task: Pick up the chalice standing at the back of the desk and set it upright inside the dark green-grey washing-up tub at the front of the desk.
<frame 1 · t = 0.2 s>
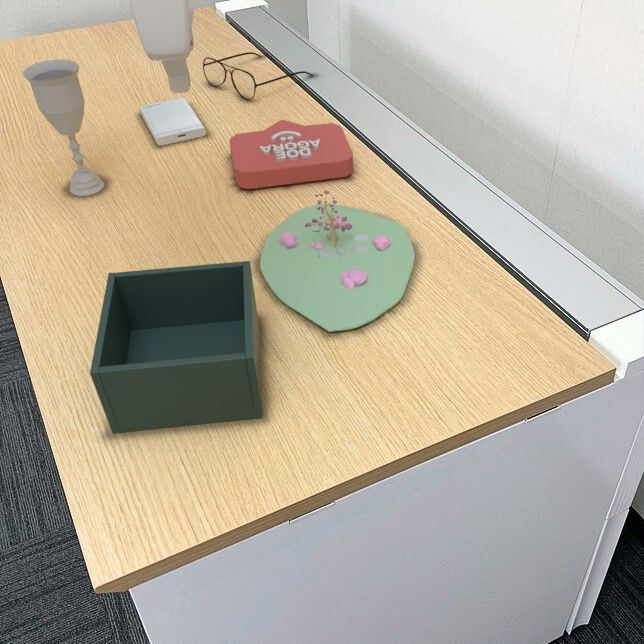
hand: (183, 68, 72), 29 cm above the table, tool pointing down, fingers open, 8 cm apart
plaque: (290, 162, 116), on the table
hard drive: (173, 126, 125), on the table
tub: (190, 372, 82), on the table
chalice: (87, 187, 111), on the table
glasses: (258, 80, 138), on the table
plant: (342, 267, 96), on the table
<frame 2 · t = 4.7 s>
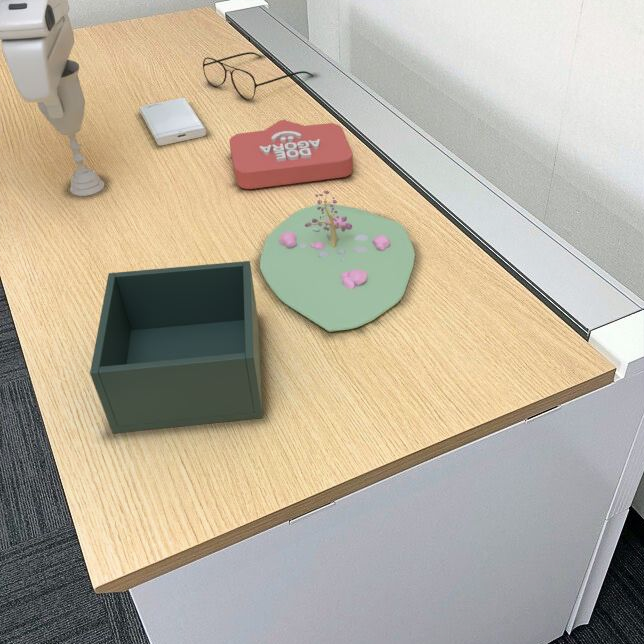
hand: (62, 104, 102), 13 cm above the table, tool pointing down, fingers closed on chalice, 6 cm apart
chalice: (87, 187, 111), on the table, touching gripper
everything else where it was.
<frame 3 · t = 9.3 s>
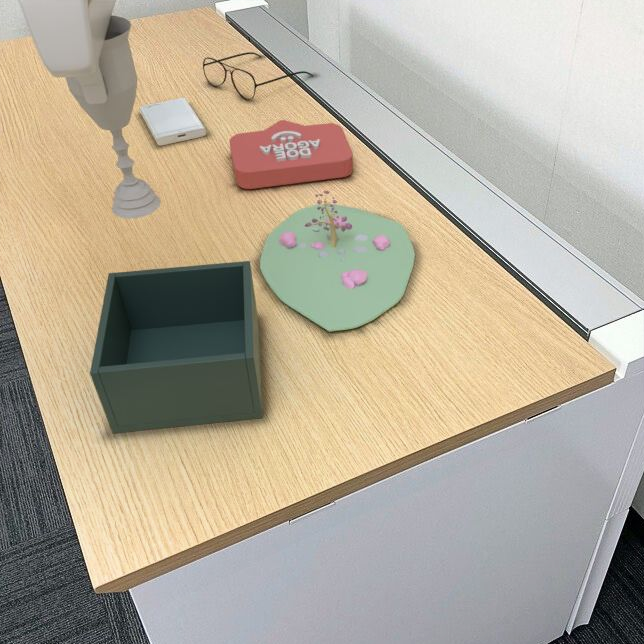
hand: (102, 83, 68), 30 cm above the table, tool pointing down, fingers closed on chalice, 6 cm apart
chalice: (136, 206, 77), point 16 cm above the table, touching gripper
everything else where it was.
when the fingers open (14 cm above the table, at t = 14.1 s): chalice stays where it is, resting on tub.
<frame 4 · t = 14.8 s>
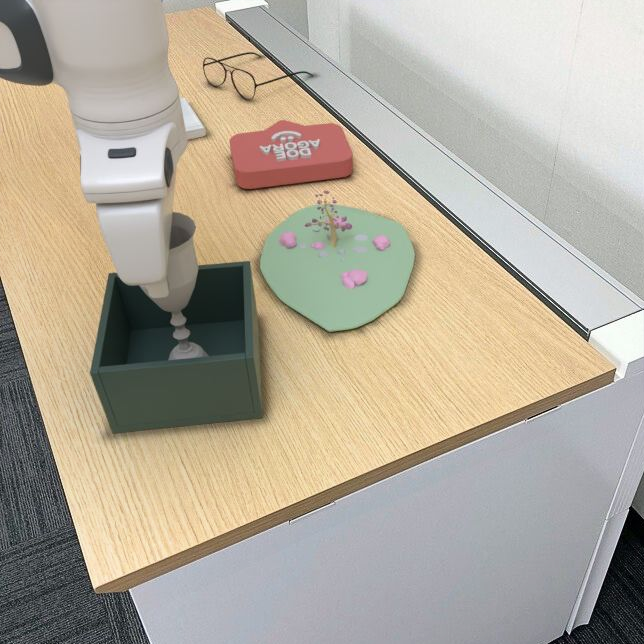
hand: (163, 262, 72), 15 cm above the table, tool pointing down, fingers open, 8 cm apart
chalice: (189, 367, 82), point 1 cm above the table, touching tub
everything else where it was.
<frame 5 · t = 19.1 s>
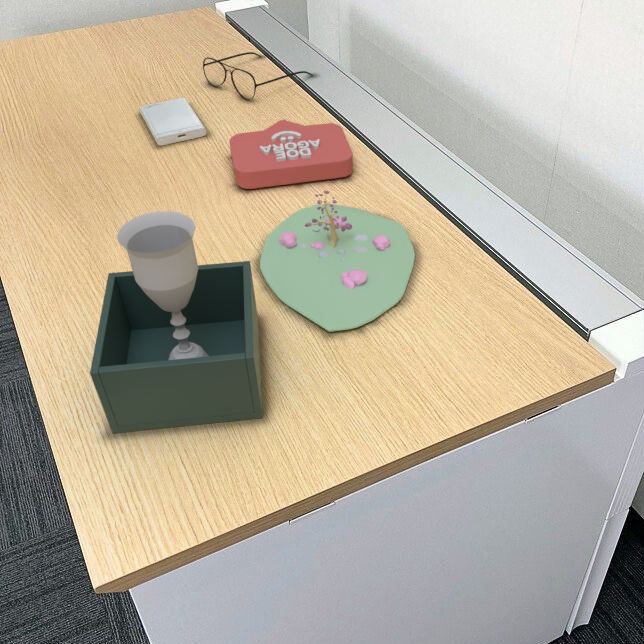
nothing on the table moved.
at the end: chalice inside the target area in the tub (0.1 cm from its centre), point 0.8 cm above the tub's base; chalice tilted 0°; the gripper is holding nothing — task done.
